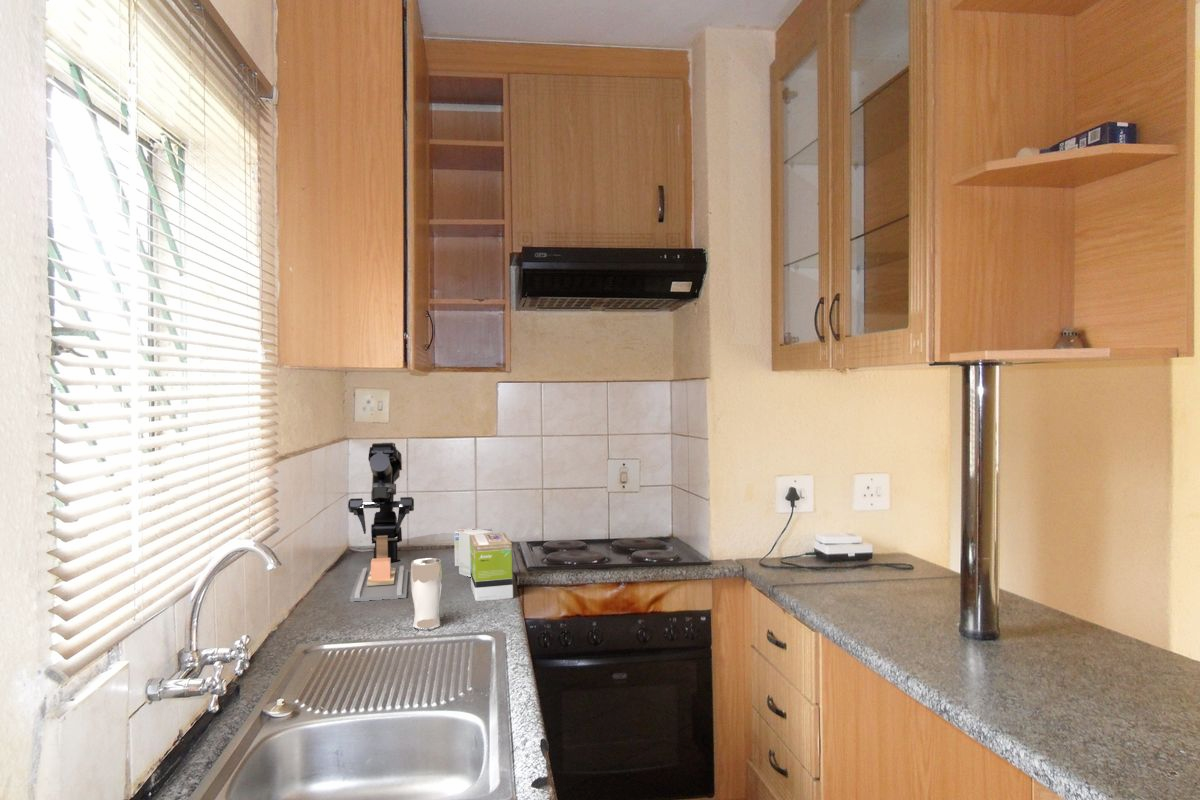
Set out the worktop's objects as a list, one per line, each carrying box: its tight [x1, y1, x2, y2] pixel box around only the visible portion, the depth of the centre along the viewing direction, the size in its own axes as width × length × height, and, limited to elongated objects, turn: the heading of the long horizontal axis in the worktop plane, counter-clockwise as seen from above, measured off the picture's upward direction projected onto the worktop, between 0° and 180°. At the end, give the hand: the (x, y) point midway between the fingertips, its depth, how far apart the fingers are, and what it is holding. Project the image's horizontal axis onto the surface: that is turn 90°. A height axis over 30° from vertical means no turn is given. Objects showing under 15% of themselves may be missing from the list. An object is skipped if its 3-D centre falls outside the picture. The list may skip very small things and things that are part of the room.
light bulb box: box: [453, 528, 493, 567], centre depth 241 cm, size 11×7×11 cm, turn 84°
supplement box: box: [458, 528, 493, 578], centre depth 228 cm, size 7×7×13 cm
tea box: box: [470, 532, 514, 602], centre depth 206 cm, size 15×10×15 cm, turn 14°
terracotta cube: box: [370, 557, 392, 581], centre depth 215 cm, size 5×5×5 cm
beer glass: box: [409, 557, 443, 629], centre depth 177 cm, size 7×7×15 cm
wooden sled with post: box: [367, 536, 397, 586], centre depth 219 cm, size 16×7×11 cm, turn 13°
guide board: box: [349, 565, 409, 603], centre depth 215 cm, size 30×14×2 cm, turn 13°
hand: (381, 533), depth 229 cm, fingers open, 9 cm apart
